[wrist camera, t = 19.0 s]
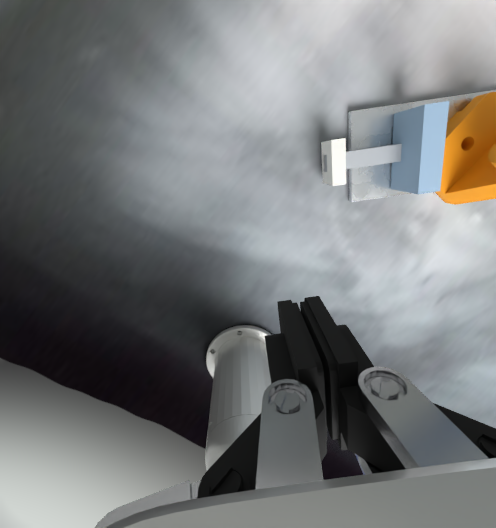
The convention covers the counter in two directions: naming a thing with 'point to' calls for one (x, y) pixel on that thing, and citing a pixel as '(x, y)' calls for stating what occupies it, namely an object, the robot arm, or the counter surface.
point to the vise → (384, 143)
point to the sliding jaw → (398, 151)
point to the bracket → (470, 153)
